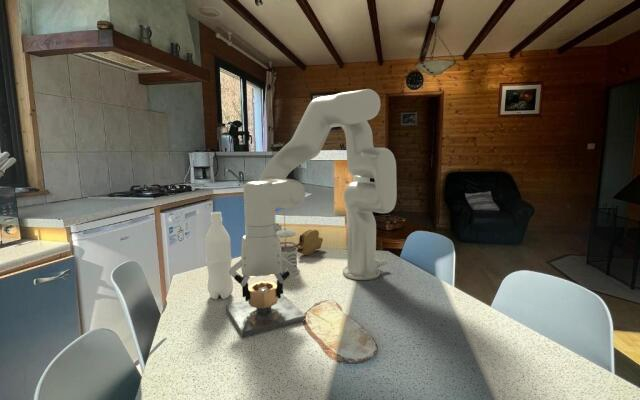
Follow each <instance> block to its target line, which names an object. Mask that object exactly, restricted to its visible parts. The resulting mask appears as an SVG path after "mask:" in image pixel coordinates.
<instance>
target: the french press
mask: <svg viewBox="0 0 640 400" xmlns="http://www.w3.org/2000/svg"><path fill="white" fill-rule="evenodd" d="M285 209H286V208H283V215H284V216H283V217H284V219H283V220H284V223H283V224H284V226H286V213H285V212H286V211H285ZM276 233H277V234H278V235H279V238H281V239H283V238H284V241H283V242H282V241H280V245H281V254H282V257H283V258H284V259H286V260H287V261H289V262H290V263H292V264H293V265H294V269H293V270H292V272H291V273H290V275H289V276H288V277H293V276H295V275H299V273H301V269H299V267H298V257H297V255H298V252H297V249H298V248H297V247H295V245H296V244H297V243H295V242H293V241H292V242H291V241H289V242H288V241H286V240H287V238H291V237H295V236H296V235H297V233H298V232H297V231H296V230H294V229H290V228H287V227H283V228H282V230H279V231H277V232H276ZM286 269H287V267H286V266H285V265H283V264H282V272H281V274H282V273H283V272H284V271H285V270H286Z"/></svg>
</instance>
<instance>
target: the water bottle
mask: <svg viewBox="0 0 640 400" xmlns="http://www.w3.org/2000/svg"><path fill="white" fill-rule="evenodd" d="M222 215H223V214H222V212H221V211H212V212H210V220H209V222H210V226H209V229H208V230H207V233H206V235H205V237H204V246H205V264H206V268H207V271H208V273H207V274H208V279H207V292H208V293H209V294H208V295H209V296H210V297H211V299H213V300H216V301H217V300H218V299H219V296H220V297H221V299H222V300H226V299H227V298H228V297H230V296H231V295H232V293H233V291H234V282H233V277H232V275H231V274H230V273H229V269H230V268H231V267H232V259H233V258H232V251H231V250H232V249H231V248H232V247H231V237H230V234H229V233H228V231H227V230H226V228H225V226H224V224H223V217H222Z"/></svg>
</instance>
